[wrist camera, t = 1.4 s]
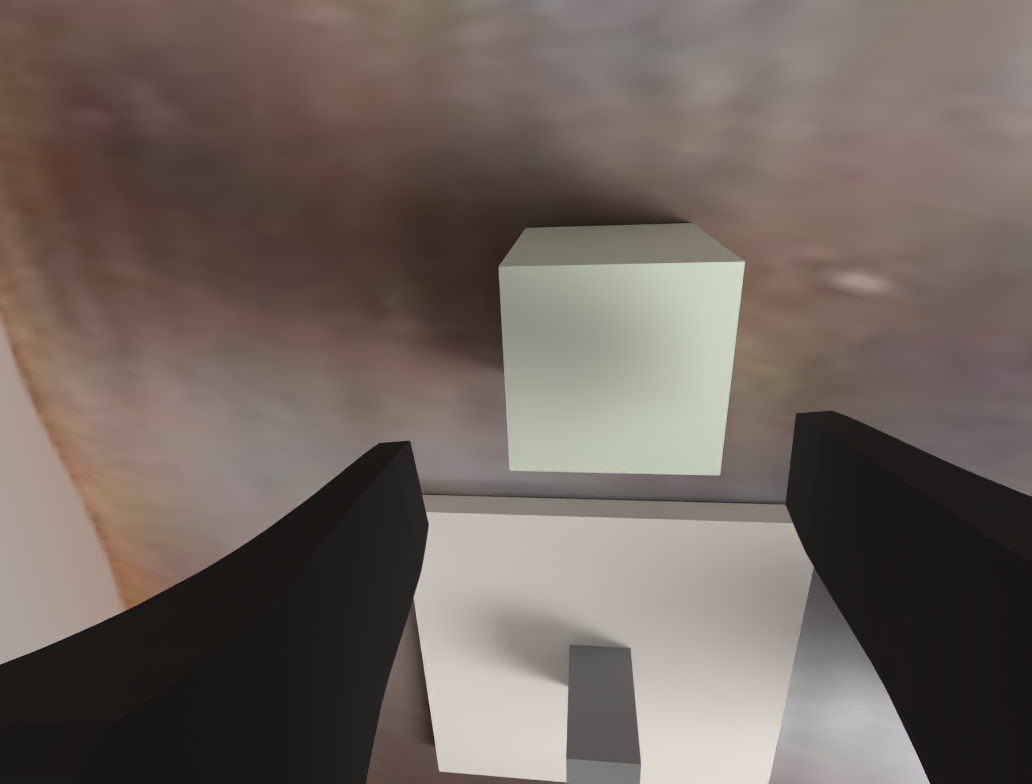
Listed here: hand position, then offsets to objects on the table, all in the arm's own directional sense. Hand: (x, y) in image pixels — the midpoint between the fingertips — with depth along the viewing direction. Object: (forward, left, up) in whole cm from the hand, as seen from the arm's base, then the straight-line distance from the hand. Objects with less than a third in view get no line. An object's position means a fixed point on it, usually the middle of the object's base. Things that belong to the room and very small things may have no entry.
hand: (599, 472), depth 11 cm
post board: (0, +15, -10) cm, 18 cm away
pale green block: (0, -1, -10) cm, 10 cm away
